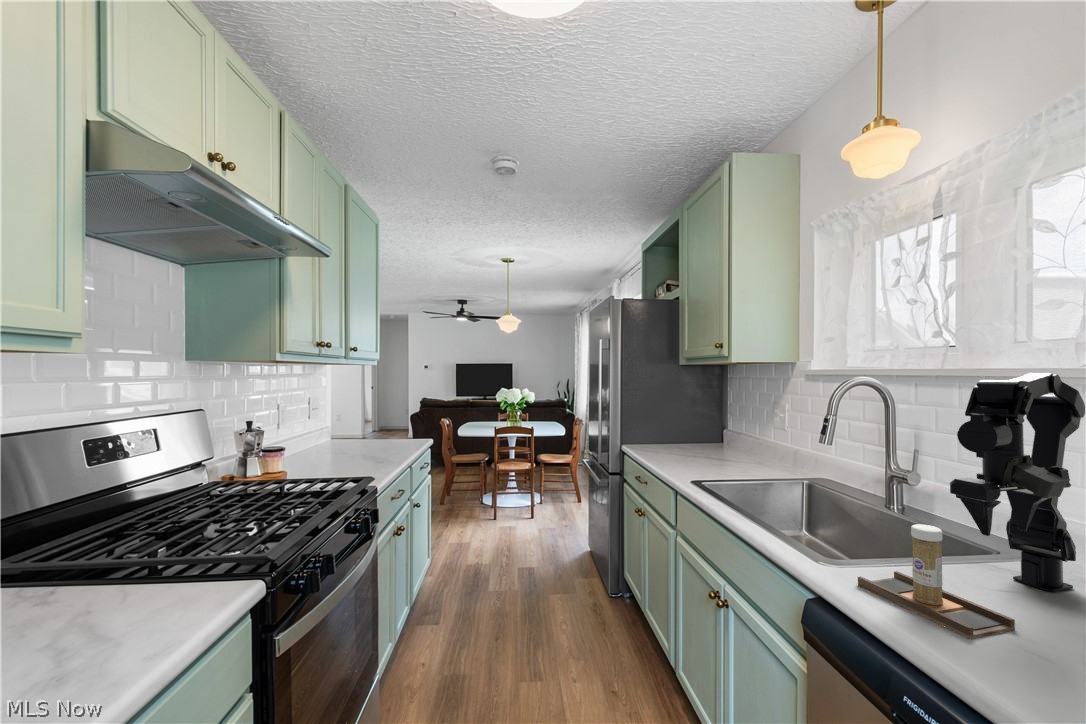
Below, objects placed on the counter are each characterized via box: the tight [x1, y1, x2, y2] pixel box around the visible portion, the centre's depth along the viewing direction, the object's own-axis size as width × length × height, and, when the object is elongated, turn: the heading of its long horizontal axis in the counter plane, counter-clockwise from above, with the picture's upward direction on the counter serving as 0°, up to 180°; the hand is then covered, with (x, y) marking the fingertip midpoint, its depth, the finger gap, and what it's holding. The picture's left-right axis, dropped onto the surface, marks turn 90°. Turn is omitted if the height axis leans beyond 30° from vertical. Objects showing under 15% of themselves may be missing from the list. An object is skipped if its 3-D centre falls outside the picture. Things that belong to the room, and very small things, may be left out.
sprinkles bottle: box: [910, 523, 943, 605], centre depth 93 cm, size 5×5×14 cm
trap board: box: [857, 570, 1016, 640], centre depth 93 cm, size 10×21×2 cm, turn 15°
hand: (1004, 532), depth 93 cm, fingers open, 9 cm apart
